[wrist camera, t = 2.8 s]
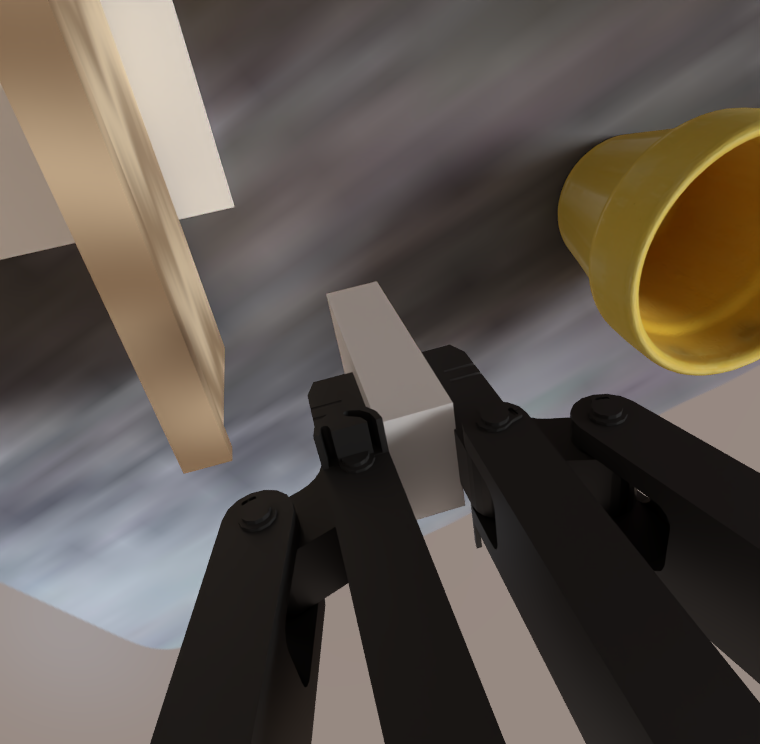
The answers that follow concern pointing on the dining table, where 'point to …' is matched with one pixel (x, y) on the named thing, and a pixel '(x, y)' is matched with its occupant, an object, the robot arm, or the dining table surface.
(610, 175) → the plant pot
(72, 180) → the wooden board
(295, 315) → the dining table surface
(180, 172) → the card
